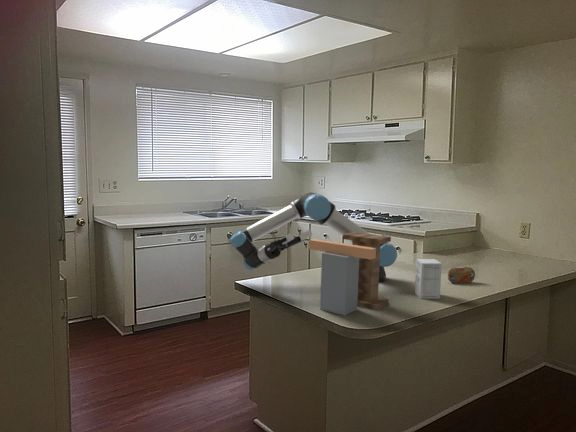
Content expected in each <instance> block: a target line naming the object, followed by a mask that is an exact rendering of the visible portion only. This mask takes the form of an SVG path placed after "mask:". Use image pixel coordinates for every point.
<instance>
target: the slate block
mask: <svg viewBox="0 0 576 432" xmlns="http://www.w3.org/2000/svg"><path fill="white" fill-rule="evenodd" d="M320 271H321V272H320V296H319V297H320V299H319V301H320V303H319V309H320V310H322V311H326V312H330V313H333V314H337V315H341V316H347V315H349V314H351V313H353V312H355V311H357V310H358V306H357V299H358V276H359V258H358V257H352V256H347V255H341V254H335V253H329V252H322V253H321V270H320Z"/></svg>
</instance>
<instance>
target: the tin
mask: <svg viewBox="0 0 576 432" xmlns="http://www.w3.org/2000/svg"><path fill="white" fill-rule="evenodd" d="M475 276H476V272H475V270H474V269H473V268H472V267H470V266H469V267H468V266H462V267H451V268H450V269H449V270H448V272H447V280H448V281H449V282H450V283H451V284H454V285H459V284H462V285H463V284H471V283H472V282H473V281H474V280H475Z"/></svg>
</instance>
